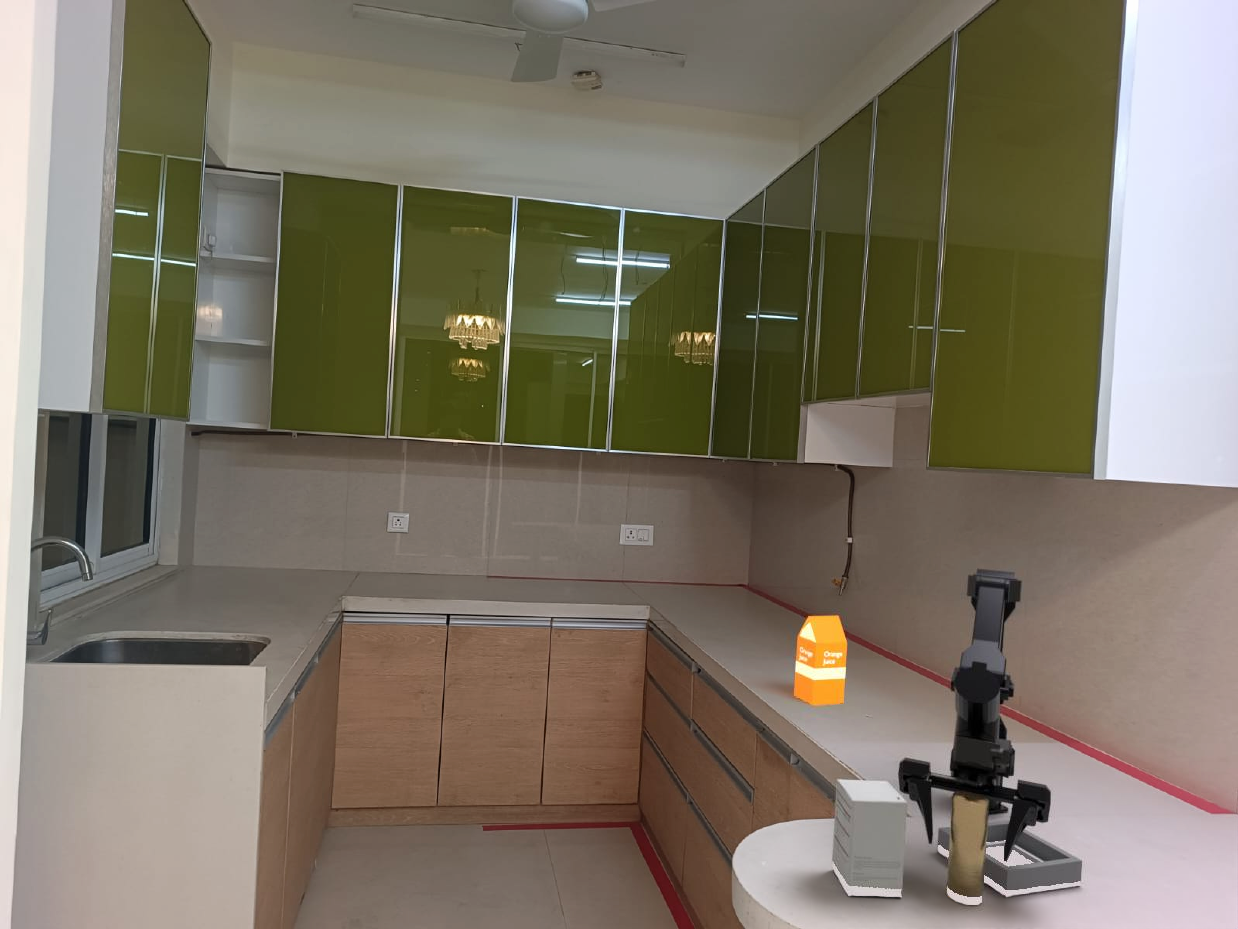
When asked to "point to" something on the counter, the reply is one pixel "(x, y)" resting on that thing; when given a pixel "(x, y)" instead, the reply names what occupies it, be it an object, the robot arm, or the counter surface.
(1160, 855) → the counter surface
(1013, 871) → the walled box
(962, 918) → the counter surface
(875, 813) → the supplement box
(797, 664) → the orange juice
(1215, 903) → the counter surface
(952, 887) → the shiny gold cylinder
